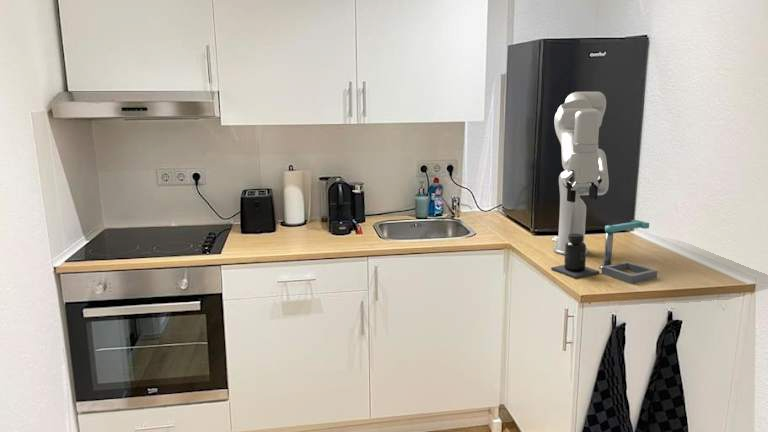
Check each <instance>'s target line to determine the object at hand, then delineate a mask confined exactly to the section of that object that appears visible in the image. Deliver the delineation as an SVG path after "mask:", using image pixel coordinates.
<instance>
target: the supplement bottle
mask: <svg viewBox="0 0 768 432" xmlns="http://www.w3.org/2000/svg"><path fill="white" fill-rule="evenodd" d="M568 240H569V242H567V243H566V244H565V255H564V263H563V265H564V268H565V269H566V270H568V271H573V272H580V271H584V270H585V266H586V261H587V260H586V256H587V254H586V248H587V245H586V243H585V242H584V243H583V240H584V241H585V238H584V239H583V235H582V234H569V235H568Z"/></svg>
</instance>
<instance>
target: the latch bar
mask: <svg viewBox="0 0 768 432" xmlns="http://www.w3.org/2000/svg"><path fill="white" fill-rule="evenodd" d="M639 228H641V229H644V230H646V229H649V228H650V222H647V221H641V220H637V219H631V220H630V222H623V223H618V224H611V225H610V224H608V225H605V226H604V232H605V233H606V232H609V233H613V234H614V233H616V232H621V231H627V230H633V229H639Z"/></svg>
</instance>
